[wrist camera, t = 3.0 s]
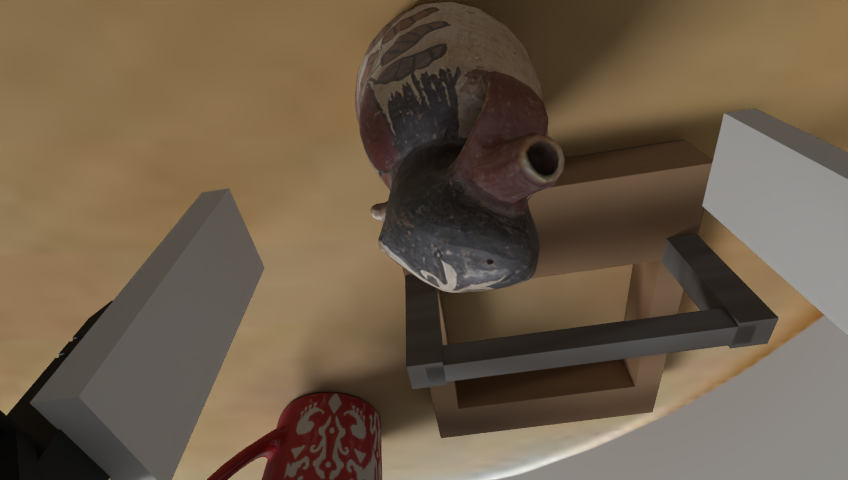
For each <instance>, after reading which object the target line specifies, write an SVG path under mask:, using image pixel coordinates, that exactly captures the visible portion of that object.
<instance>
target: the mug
mask: <svg viewBox="0 0 848 480" xmlns="http://www.w3.org/2000/svg"><path fill="white" fill-rule="evenodd" d="M259 457H266V458H267V459H268V460H267V464H266V467H265V471H264V474H263V477H262V480H382V458H381V422H380V416H379V415H378V413H377V412H376V410H375V409H374V408H373V407H372V406H371V405H369V404H368V403H366V402H365V401H363V400H361V399H359V398H356V397H353V396H350V395H345V394H339V393H317V394H312V395H307V396H304V397H301V398H299V399H297V400H295V401H293V402H292V403H290V404H289V405H288V406H287V407H286V408H285V409H284V410H283V412H282V414H281V416H280V419H279V421H278V425H277V428H276V429H275V430H273V431H271V432H270V433H268V434H266V435H265V436H263V437H262V438H260V439H259V440H257V441H256V442H254V443H253V444H251V445H250V446H248V447H246V448H245V449H244V450H242V451H241V452H239V453H238V454H236V455H235V456H234V457H233V458H232V459H230V460H229V461H228V462H226V463H225V464H224V465H222V466H221V467H220V468H219V469H218V470H217V471H216V472H215V473H213V474H212V475H211V476H210V477H209V478H208V479H207V480H228V479H229V478H230V477H231V476H232V475H234V474H235V473H236V472H237V471H239V470H240V469H241V468H243V467H244V466H246V465H247V464H249V463H250V462H252V461H254V460H255V459H257V458H259Z"/></svg>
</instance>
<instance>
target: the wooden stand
mask: <svg viewBox="0 0 848 480" xmlns="http://www.w3.org/2000/svg"><path fill="white" fill-rule="evenodd" d="M564 159H565V164H564V171H563V175H562V176H561V178H560V179H559V180H558V182H557V183H556V184H555V185H553V186H551V187H548V188H546V189H543V190H541V191H538V192H536V193H534V194H533V195H532V196H531V198H530V199H529V200H528V206H529V209H530V213H531V215H532V218H533V220H534V223H535V226H536V229H537V233H538V238H539V247H540V248H539V258H538V263H537V268H536V272H535V274H534V275H533V276H532V277H531V278H537V277H545V276H552V275H559V274H566V273H573V272H580V271H587V270H595V269H602V268H609V267H616V266H623V265H630V264H633V269H632V275H631V281H630V288H629V294H628V300H627V306H626V313H625V319H624V321H622V322H614V323H607V324H599V325H592V326H584V327H577V328H569V329H562V330H554V331H547V332H539V333H532V334H524V335H517V336H509V337H502V338H494V339H487V340H479V341H472V342H465V343H457V344H450V345H449V340H448V334H447V328H446V322H445V316H444V310H443V304H442V298H441V292H440V291H443V290H440V289H438V288H436V287H434V286H432V285H430V284H428V283H426V282H424V281H422V280H421V279H419V278H418V277H416V276H415V275H413V274H412V273H410V272H409V271H407V270H406V269H404V268H403V267H402V268H403V272H404V277H405V289H406V367H407V371H408V375H409V379H410V383H411V386H412V389H419V388H427V387H430V392H431V396H432V400H433V405H434V409H435V414H436V418H437V423H438V427H439V431H440V436H441V438H446V437H454V436H462V435H470V434H478V433H486V432H495V431H503V430H511V429H519V428H527V427H535V426H543V425H551V424H560V423H568V422H576V421H584V420H592V419H600V418H608V417H616V416H625V415H633V414H641V413H649V412H653V408H654V404H655V400H656V396H657V392H658V388H659V384H660V381H661V377H662V373H663V369H664V365H665V361H666V357H667V353H672V352H680V351H688V350H696V349H703V348H711V347H719V346H727V345H728V346H729V347H730V348H737V347H744V346H752V345H760V344H767V343H768V341H769V339H770V337H771V334H772V332H773V330H774V327H775V325H776V323H777V321H778V317H777V316H776V315H775V314H774V313H773V312H772V311H771V310H770V308H769V307H768V306H767V305H766V304H765V303H764V302H763V301H762V300H761V299H760V298H759V297H758V296H757V295H756V294H755V293H754V292H753V291H752V290H751V289H750V288H749V287H748V286H747V285H746V284H745V283H744V282H743V281H742V280H741V279H740V278H739V277H738V276H737V275H736V274H735V273H734V272H733V271H732V270H731V269H730V268H729V267H728V266H727V265H726V264H725V263H724V262H723V261H722V260H721V259H720V258H719V257H718V255H717V254H716V253H715V252H714V251H713V250H712V249H711V248H710V247H709V246H708V245H707V244H706V243H705V242H704V241H703V240H702V239H701V238H700V237H699V236H698V231H699V227H700V223H701V219H702V215H703V211H704V207H703V206H702V204H703V200H704V196H705V192H706V188H707V183H708V179H709V175H710V171H711V166H712V162H713V160H712V159H710V158H709V157H707V156H706V155H705V154H703V153H702V152H701V151H699V150H698V149H697V148H695V147H694V146H692V145H691V144H690V143H688V142H687V141H686V140H681V141H674V142H668V143H661V144H655V145H648V146H642V147H635V148H628V149H622V150H615V151H609V152H602V153H596V154H589V155H583V156H576V157H570V158H564ZM683 290H685V292H686V293H687V294H688V296H689V297H690V298H691V299H692V301H693V302H694V303H695V304H696V306H697V307H698V308H699V309H700V311H697V312H689V313H682V314H678V310H679V306H680V302H681V298H682V294H683Z"/></svg>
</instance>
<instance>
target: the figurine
mask: <svg viewBox="0 0 848 480" xmlns="http://www.w3.org/2000/svg"><path fill="white" fill-rule="evenodd" d="M355 108H356V115H357V120H358V123H359V127H360V135H361V139H362V142H363V146H364V149H365V152H366V154H367V157H368V159H369V161H370V163H371V165H372V167H373V169H374V170H375V171H376V173H377V174H378V175H379V177H380V179H381V180H382V181H383V182H384V183H385V185H386V186H387V187H388V188H389V189H390V195H389V200H388V201H387V202H385V203H380V204H376V205H374V206H373V207H371V214H372V216H373V217H374V218H375V219H377V220H379V221H382V222H384V224H383V227H382V230H381V234H380V237H379V248H380V249H381V250H382V251H383V252H384V253H386V254H387V255H388V256H389V257H390V258H391V259H393V260H394V261H395V262H396V263H398V264H399V265H400V266H402V267H403V268H404V269H406V270H407V271H409V272H410V273H412V274H413V275H415V276H416V277H418V278H419V279H421V280H422V281H424V282H426V283H428V284H430V285H432V286H434V287H436V288H438V289H440V290H443V291H446V292H451V293H463V292H475V291H485V290H493V289H499V288H504V287H509V286H512V285H515V284H518V283H521V282H524V281H527V280H529V279H530V278H531V277H532V276H533V275H534V274H535V272H536V268H537V263H538V258H539V248H540V247H539V238H538V233H537V229H536V226H535V223H534V220H533V218H532V215H531V213H530V209H529V206H528V200H529V199H530V198H531V196H532V195H533V194H534V193H536V192H538V191H541V190H543V189H546V188H548V187H551V186H553V185H555V184H556V183H557V182H558V180H559V179H560V178H561V176H562V175H563V171H564V164H565V159H564V155H563V151H562V148H561V146H560V145H559V144H557V143H556V142H555V141H554V140H552V139H551V138H550V137H548V116H547V113H546V110H545V107H544V101H543V95H542V88H541V84H540V82H539V79H538V76H537V73H536V71H535V69H534V67H533V64H532V62H531V60H530V58H529V56H528V54H527V51H526V49H525V48H524V46H523V44H522V43H521V42H520V41H519V40H518V39H517V37H516V36H515V35H514V34H513V33H512V32H511V31H510V29H509V28H508V27H507V26H506V25H504V24H503V23H501V22H499V21H498V20H496V19H494V18H493V17H491V16H490V15H488V14H487V13H485V12H484V11H482V10H480V9H479V8H475V7H471V6H467V5H463V4H459V3H455V2H439V3H429V4H422V5H420V6H417V7H414V8H412V9H409V10H407V11H404V12H402V13H401V14H400V15H398V16H397V17H396V18H395V19H393V20H392V21H391V22H390V23H388V24H387V25H386V26H385V27H384V28H383V29H382V30H381V31H380V32H379V34H378V35H377V36H376V37H375V38H374V40H373V41H372V42H371V43H370V45H369V47H368V49H367V51H366V53H365V55H364V58H363V60H362V63H361V65H360V67H359V71H358V75H357V82H356V91H355Z"/></svg>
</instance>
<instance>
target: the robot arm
mask: <svg viewBox="0 0 848 480" xmlns="http://www.w3.org/2000/svg"><path fill="white" fill-rule="evenodd" d="M702 206H703V207H704V208H705V209H706V210H707V211H708V212H710V213H711V214H712V215H713V216H714V217H715V218H716V219H717V220H719V221H720V222H721V223H722V224H723V225H724V226H725V227H726V228H728V229H729V230H730V231H731V232H732V233H733V234H734V235H735V236H736V237H738V238H739V239H740V240H741V241H742V242H743V243H744V244H745V245H747V246H748V247H749V248H750V249H751V250H752V251H753V252H754V253H756V254H757V255H758V256H759V257H760V258H761V259H762V260H763V261H765V262H766V263H767V264H768V265H769V266H770V267H771V268H772V269H774V270H775V271H776V272H777V273H778V274H779V275H780V276H781V277H783V278H784V279H785V280H786V281H787V282H788V283H789V284H790V285H792V286H793V287H794V288H795V289H796V290H797V291H798V292H799V293H801V294H802V295H803V296H804V297H805V298H806V299H807V300H808V301H810V302H811V303H812V304H813V305H814V306H815V307H816V308H817V309H819V310H820V311H821V312H822V313H823V314H824V315H825V316H826V317H828V318H829V319H830V320H831V321H832V322H833V323H834V324H835V325H837V326H838V327H839V328H840V329H841V330H842V331H843V332H845V333H846V334H847V335H848V152H846V151H844V150H842V149H840V148H837V147H835V146H833V145H831V144H829V143H827V142H825V141H823V140H821V139H819V138H816V137H814V136H812V135H810V134H808V133H806V132H804V131H802V130H800V129H797V128H795V127H793V126H791V125H789V124H787V123H785V122H783V121H781V120H778V119H776V118H774V117H772V116H770V115H768V114H766V113H764V112H762V111H760V110H757V109H755V108H754V109H748V110H741V111H735V112H728V113H724V116H723V120H722V124H721V129H720V133H719V137H718V141H717V145H716V150H715V154H714V158H713V162H712V166H711V171H710V175H709V179H708V183H707V188H706V192H705V196H704V200H703V204H702ZM263 270H264V266H263V263H262V261H261V259H260V257H259V255H258V252H257V250H256V248H255V246H254V243H253V241H252V239H251V237H250V234H249V232H248V230H247V228H246V225H245V223H244V221H243V219H242V216H241V214H240V212H239V210H238V207H237V205H236V203H235V201H234V198H233V196H232V194H231V192H230V190H229V189H222V190H216V191H209V192H203V193H201V194H200V196H199V197H198V198H197V199H196V201H195V202H194V203H193V204H192V205H191V207H190V208H189V209H188V210H187V212H186V213H185V214H184V215H183V216H182V218H181V219H180V220H179V221H178V223H177V224H176V225H175V226H174V227H173V229H172V230H171V231H170V232H169V233H168V235H167V236H166V237H165V238H164V240H163V241H162V242H161V243H160V244H159V246H158V247H157V248H156V249H155V251H154V252H153V253H152V254H151V255H150V257H149V258H148V259H147V260H146V262H145V263H144V264H143V265H142V266H141V268H140V269H139V270H138V271H137V273H136V274H135V275H134V276H133V277H132V279H131V280H130V281H129V282H128V283H127V285H126V286H125V287H124V288H123V290H122V291H121V292H120V293H119V294H118V296H117V297H116V298H115V299H114V301H111V302H109V303H108V304H107V305H106V306H104V307H103V308H102V309H100V310H99V311H98V312H97V313H95V314H94V315H93V316H91V317H90V318H89V319H88V320H87V321H86V322H85V324H84V325H83V326H82V327H81V328H80V330H79V331H78V332H77V333H76V334H75V335H74V337H73V341H71V342H69V343H68V344H67V345H66V346H65V347H64V348H63V350H62V351H61V352H60V353H59V358H55V359H54V360H53V361H52V363H51V364H50V365H49V366H48V367H47V369H46V370H45V371H44V372H43V373H42V374H41V376H40V377H39V378H38V379H37V380H36V382H35V383H34V384H33V385H32V386H31V387H30V389H29V390H28V391H27V392H26V393H25V395H24V396H23V397H22V398H21V399H20V400H19V402H18V403H17V404H16V405H15V406H14V407H13V409H12V410H11V411H10V412H9V413H8V415H7V416H6V415H5V414H4V413H3V412H2V411H0V480H108V479H109V478H110V479H111V480H172V478H173V475H174V473H175V471H176V468H177V466H178V464H179V462H180V459H181V457H182V455H183V452H184V450H185V448H186V446H187V443H188V441H189V439H190V437H191V434H192V432H193V430H194V427H195V425H196V423H197V421H198V418H199V416H200V414H201V411H202V409H203V407H204V405H205V402H206V400H207V398H208V395H209V393H210V391H211V389H212V386H213V384H214V382H215V379H216V377H217V375H218V373H219V370H220V368H221V366H222V363H223V361H224V359H225V357H226V354H227V352H228V350H229V347H230V345H231V343H232V341H233V338H234V336H235V334H236V331H237V329H238V327H239V325H240V322H241V320H242V318H243V316H244V313H245V311H246V309H247V306H248V304H249V302H250V300H251V297H252V295H253V293H254V290H255V288H256V286H257V284H258V281H259V279H260V277H261V274H262V272H263Z"/></svg>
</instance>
